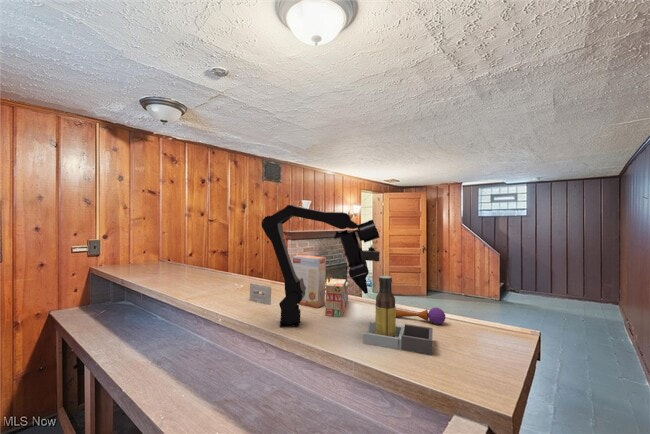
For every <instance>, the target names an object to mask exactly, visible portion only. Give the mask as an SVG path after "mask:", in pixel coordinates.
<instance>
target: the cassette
mask: <svg viewBox="0 0 650 434" xmlns="http://www.w3.org/2000/svg"><path fill="white" fill-rule="evenodd" d="M249 301H250V302H251V301H252V302H254V303H259V304H263V305H267V306H268V305H270V306H271V305H272V286H269V285H265V284H259V283H254V282H250V283H249Z"/></svg>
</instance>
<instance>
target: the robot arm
mask: <svg viewBox="0 0 650 434" xmlns="http://www.w3.org/2000/svg"><path fill="white" fill-rule="evenodd" d="M293 217H295V218H300V219H301V218H302V219H304V220H305V219H306V220H311V221H316V222H321V223H325V224H327V225H329V226H331V227H335V228H337V229H339V230H343V231H338V230H336V231H335V234H334V236H333V239H335V240H336V239H338V238H339V239H340V242H341V246H342V249H343V251H344V256H345V257H346V261H347V265H348V268H349V269H348V275H349V277H350V279H351V280H352V281H353V282H354V283H355V284H356V285H357V286H358V288H359V289H360V290H361V291H362V292H363V293H364V294H365V295H366V294H367V295H368V293H369V290H368V285H367V283H368V282H367V277H368V276H369V273H370V271H369V270H370V269H369V267H368V264H367V263H368V261H369V262H370V261H371V262H376V263H377V262H380V251H378V250H376V249H375V247H369V248H368V249H365V250H363V248H362V247H361V246H360V243H359V241H360V242H361V241H362V242H363V243H367V242H368V243H369V242H371V241H374V240H377V239H380V238H381V237H380V234H379V230H378V228H377V227H376V224H375V223H374V219H369V220H368V221H365V222H362V223H359V224H358V223H357V222H354V220H352V219H351V216H350V215H349V214H348V213H346V212H340V211H339V212H338V211H321V210H316V209H311V208H306V207H302V206H301V207H300V206H296V205H293V204H287V205H286V206H285V207H284V208H282V209H280V210H279V211H277V212H275V213H273V214H272V215H267V216H265V217H263V218H262V221H261V224H260V225H261V228H262V229H263V231H264V233H265V235H266V237H267V238H268V239H269V241H270V242H271V244H272V248H273V250H274V253H275V256H276V258H277V262H278V264H279V268H280V271H281V274H282V277H283V279H284V294H285V297H283V298H282V300H280V302H279V303H278V306H279V308H280V322H279V327H280V328H281V327H294V328H295V327H299V326H300V323H301V309H300V306H299V305H300V304H299V303H300V302H301V301H302V299H303V298H304V296H305V290H306V287H305V285H304V282H303V278H301V279H300V280H299V279H298V277H297V276H296V274H295V271H294V268H293V261H292V260H291V257H290V254H289V251H288V248H287V245H286V243H285V239H284V228H283V227H284V226H283V224H285V223H287V222H288V221H289V220H291V218H293ZM348 229H351V230H352V231H349V230H348ZM356 232H357V233H356ZM357 236H358V237H357ZM358 238H359V239H358Z"/></svg>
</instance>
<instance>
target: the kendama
mask: <svg viewBox="0 0 650 434" xmlns="http://www.w3.org/2000/svg"><path fill="white" fill-rule="evenodd" d="M402 317H403V318H405V317H407V318H408V317H410V318H411V317H418V318H420V319H423V320H424V321H427V322H429V321H430V322H431V323H432V324H434V325H442V324H444V322H445V321H446V314H445V311H444V310H443V309H441V308H440V307H432V308H431V309H430V310H429V311H428V309H425V310H422V311H420V312H414V311H413V312H412V311H407V310H401V309H396V318H402Z"/></svg>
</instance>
